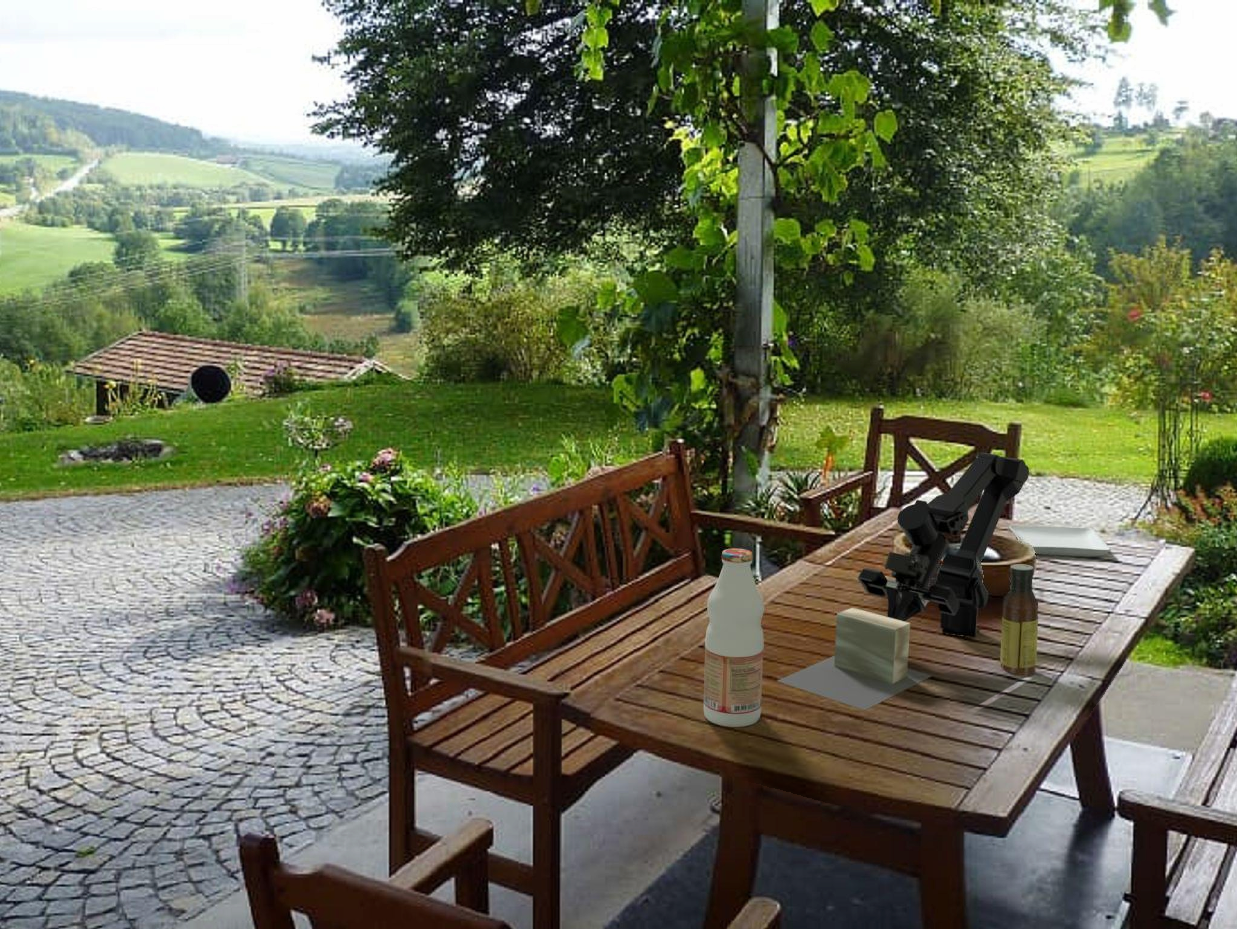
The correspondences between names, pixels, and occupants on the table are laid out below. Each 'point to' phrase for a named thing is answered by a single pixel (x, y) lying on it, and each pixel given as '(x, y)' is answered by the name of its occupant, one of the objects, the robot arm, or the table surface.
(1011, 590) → the sauce bottle
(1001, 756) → the table surface
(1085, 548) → the salad plate
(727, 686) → the white milk bottle
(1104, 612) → the table surface
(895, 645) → the birch block
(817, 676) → the rubber mat
